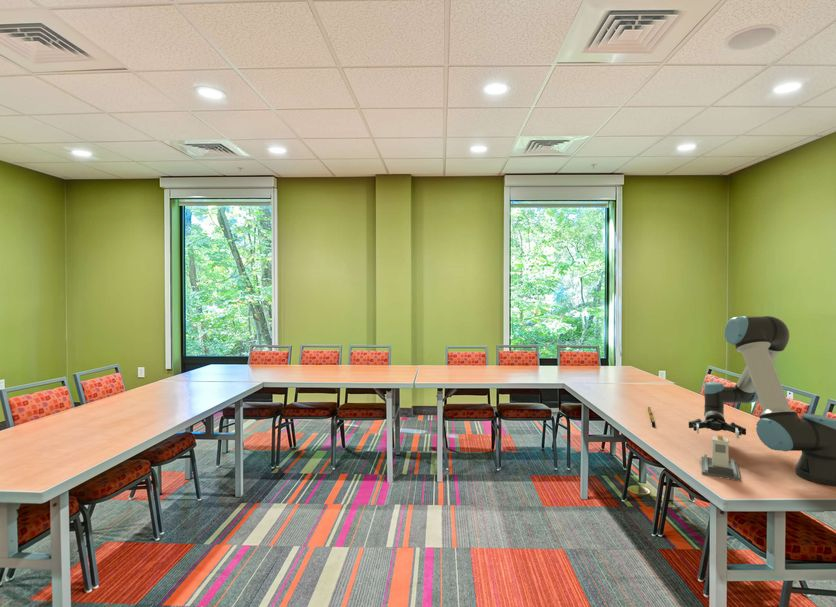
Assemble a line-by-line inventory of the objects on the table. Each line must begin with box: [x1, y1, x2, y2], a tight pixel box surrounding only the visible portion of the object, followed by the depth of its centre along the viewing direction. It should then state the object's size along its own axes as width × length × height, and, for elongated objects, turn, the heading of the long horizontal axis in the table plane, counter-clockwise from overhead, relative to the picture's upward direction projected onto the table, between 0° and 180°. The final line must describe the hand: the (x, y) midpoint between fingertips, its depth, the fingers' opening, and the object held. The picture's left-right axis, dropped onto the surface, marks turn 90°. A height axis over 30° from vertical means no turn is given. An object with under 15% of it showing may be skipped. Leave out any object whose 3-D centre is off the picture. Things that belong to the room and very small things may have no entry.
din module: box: [711, 434, 729, 468], centre depth 169 cm, size 5×5×13 cm
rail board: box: [700, 454, 741, 481], centre depth 173 cm, size 12×19×3 cm, turn 148°
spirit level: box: [647, 406, 656, 428], centre depth 244 cm, size 33×1×3 cm, turn 156°
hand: (717, 432), depth 179 cm, fingers open, 13 cm apart
